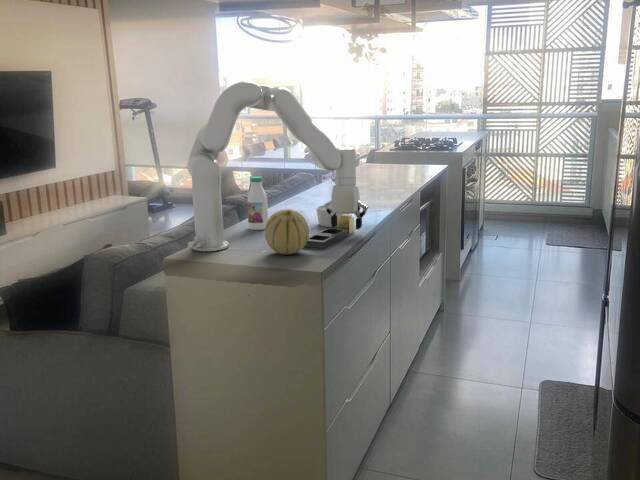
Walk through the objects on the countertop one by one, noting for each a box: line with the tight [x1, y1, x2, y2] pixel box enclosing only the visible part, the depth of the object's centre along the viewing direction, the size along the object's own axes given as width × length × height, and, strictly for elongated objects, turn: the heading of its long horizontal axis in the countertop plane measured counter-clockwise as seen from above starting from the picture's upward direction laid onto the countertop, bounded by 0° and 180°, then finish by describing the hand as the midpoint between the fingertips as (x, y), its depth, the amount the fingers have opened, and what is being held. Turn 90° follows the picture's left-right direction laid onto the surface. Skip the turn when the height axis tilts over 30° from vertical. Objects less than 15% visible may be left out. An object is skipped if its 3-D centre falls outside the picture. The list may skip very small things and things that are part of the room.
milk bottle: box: [246, 176, 269, 231], centre depth 237 cm, size 8×8×20 cm
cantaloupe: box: [264, 208, 310, 255], centre depth 201 cm, size 15×15×15 cm
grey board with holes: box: [303, 227, 349, 250], centre depth 216 cm, size 20×8×2 cm, turn 153°
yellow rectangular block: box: [337, 214, 355, 236], centre depth 227 cm, size 4×4×7 cm
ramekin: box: [316, 204, 350, 228], centre depth 242 cm, size 13×13×7 cm
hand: (346, 227), depth 228 cm, fingers open, 9 cm apart
